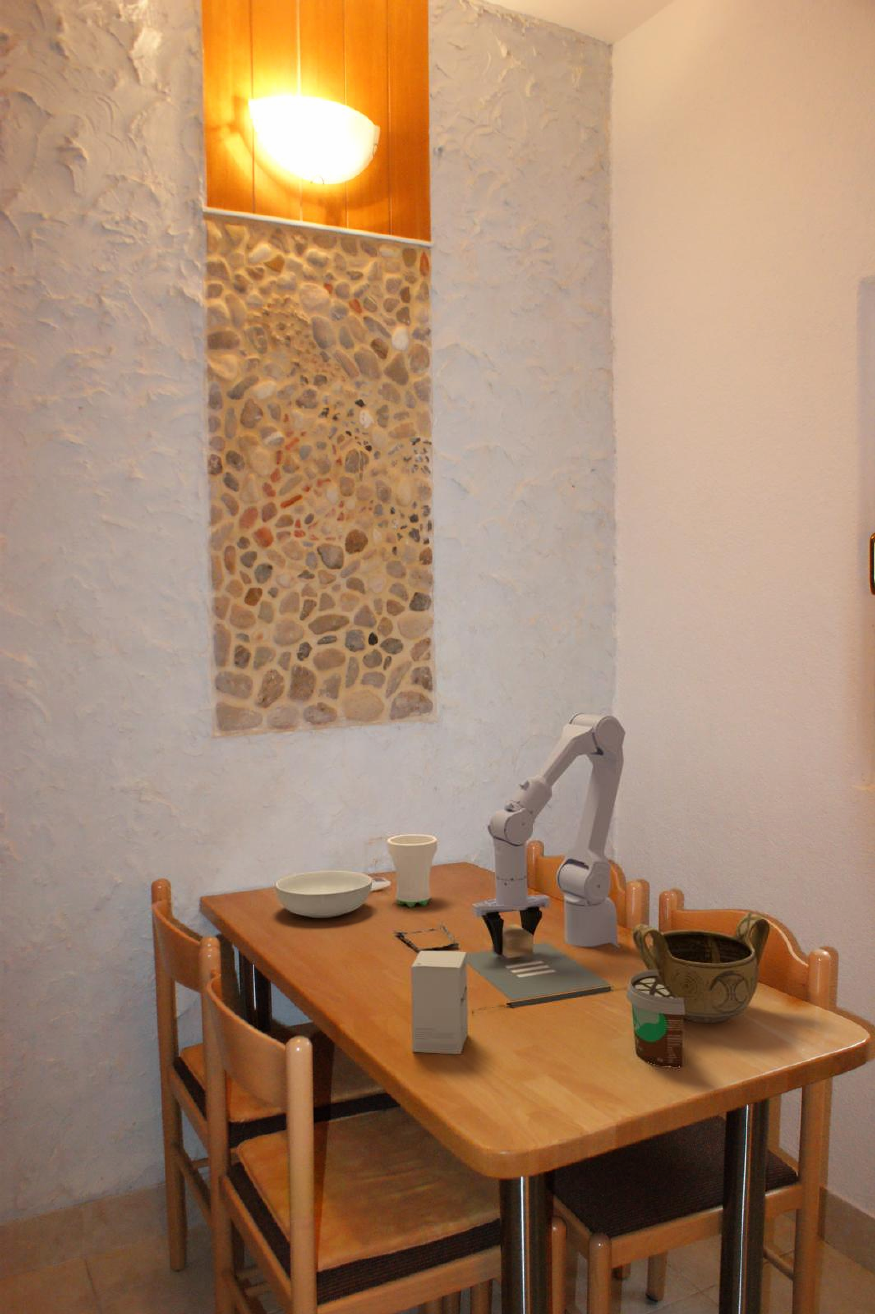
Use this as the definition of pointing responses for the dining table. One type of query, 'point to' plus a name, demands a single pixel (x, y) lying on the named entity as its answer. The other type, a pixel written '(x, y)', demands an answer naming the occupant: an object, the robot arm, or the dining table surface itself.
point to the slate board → (537, 976)
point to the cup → (412, 866)
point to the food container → (656, 1020)
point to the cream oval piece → (323, 892)
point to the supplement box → (439, 1002)
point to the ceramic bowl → (707, 966)
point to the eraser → (516, 944)
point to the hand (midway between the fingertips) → (512, 950)
